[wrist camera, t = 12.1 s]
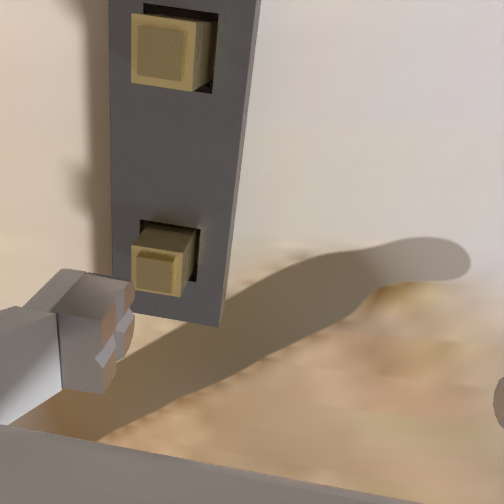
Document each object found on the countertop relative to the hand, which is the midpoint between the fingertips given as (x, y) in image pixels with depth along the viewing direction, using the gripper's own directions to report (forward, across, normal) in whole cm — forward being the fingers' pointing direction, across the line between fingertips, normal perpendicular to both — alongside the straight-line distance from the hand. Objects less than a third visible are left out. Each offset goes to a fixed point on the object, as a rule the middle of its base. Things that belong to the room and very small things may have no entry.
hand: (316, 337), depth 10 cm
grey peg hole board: (+29, +10, +5) cm, 31 cm away
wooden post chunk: (+29, +10, +13) cm, 33 cm away
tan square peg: (+29, +10, -3) cm, 31 cm away
